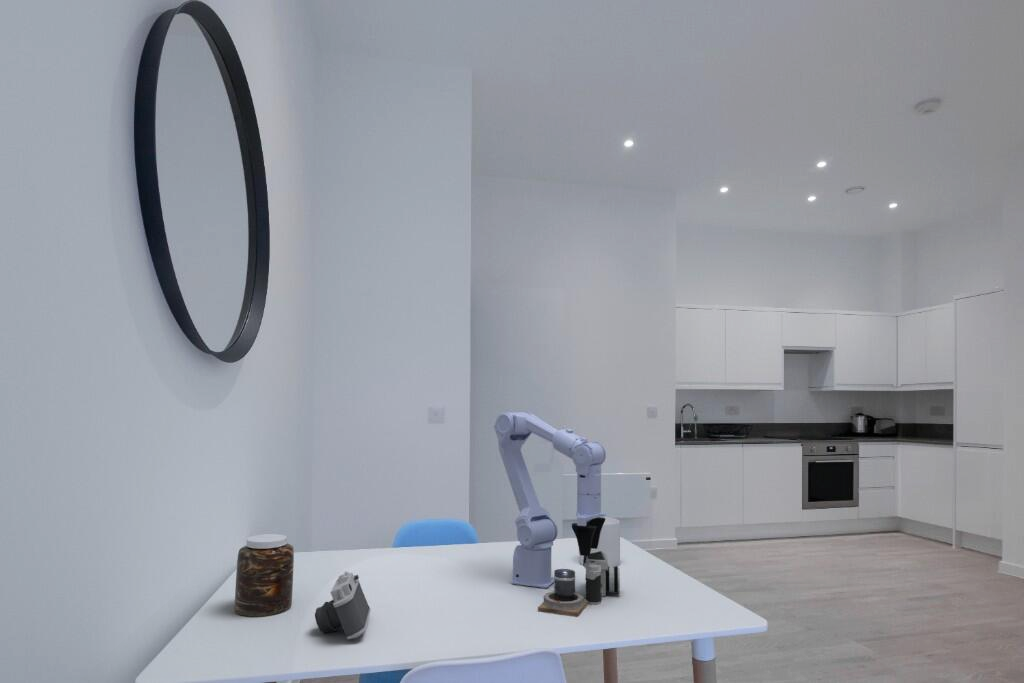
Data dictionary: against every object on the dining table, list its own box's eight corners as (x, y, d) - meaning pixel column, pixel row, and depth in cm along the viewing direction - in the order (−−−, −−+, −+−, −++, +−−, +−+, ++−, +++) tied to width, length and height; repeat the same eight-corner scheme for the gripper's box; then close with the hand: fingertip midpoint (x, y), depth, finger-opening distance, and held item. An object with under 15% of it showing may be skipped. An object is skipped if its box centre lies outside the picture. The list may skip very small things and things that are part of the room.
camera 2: (620, 607, 137) (620, 561, 138) (582, 604, 139) (582, 559, 140) (618, 586, 153) (618, 545, 154) (584, 584, 154) (584, 543, 155)
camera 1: (374, 608, 131) (356, 563, 131) (369, 632, 115) (348, 581, 116) (333, 628, 129) (314, 582, 129) (321, 656, 113) (300, 603, 114)
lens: (551, 605, 135) (551, 572, 136) (557, 599, 139) (557, 567, 140) (572, 608, 133) (572, 574, 134) (577, 601, 138) (577, 569, 138)
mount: (537, 611, 134) (537, 599, 134) (550, 599, 142) (550, 587, 142) (577, 616, 131) (577, 604, 131) (587, 604, 139) (587, 592, 139)
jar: (296, 598, 140) (299, 531, 142) (286, 616, 129) (289, 543, 130) (241, 600, 138) (245, 532, 140) (227, 618, 127) (231, 544, 128)
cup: (579, 556, 182) (579, 515, 183) (619, 558, 180) (619, 517, 181) (578, 567, 170) (578, 523, 171) (620, 569, 169) (620, 524, 170)
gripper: (598, 498, 138) (598, 560, 137) (611, 490, 152) (612, 546, 150) (568, 496, 141) (568, 557, 139) (584, 488, 154) (584, 544, 153)
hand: (589, 551), depth 145 cm, fingers open, 7 cm apart
